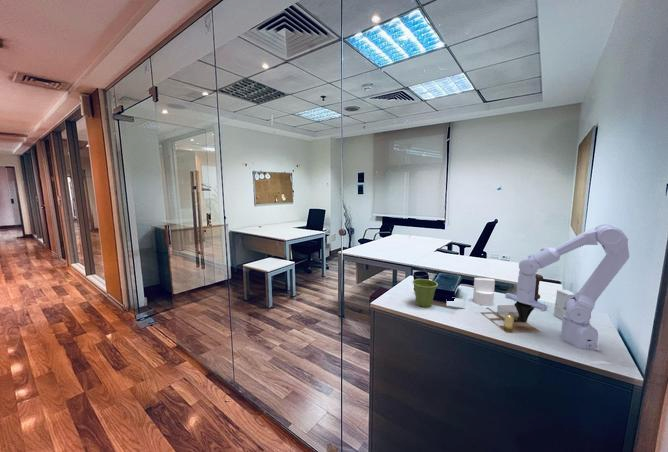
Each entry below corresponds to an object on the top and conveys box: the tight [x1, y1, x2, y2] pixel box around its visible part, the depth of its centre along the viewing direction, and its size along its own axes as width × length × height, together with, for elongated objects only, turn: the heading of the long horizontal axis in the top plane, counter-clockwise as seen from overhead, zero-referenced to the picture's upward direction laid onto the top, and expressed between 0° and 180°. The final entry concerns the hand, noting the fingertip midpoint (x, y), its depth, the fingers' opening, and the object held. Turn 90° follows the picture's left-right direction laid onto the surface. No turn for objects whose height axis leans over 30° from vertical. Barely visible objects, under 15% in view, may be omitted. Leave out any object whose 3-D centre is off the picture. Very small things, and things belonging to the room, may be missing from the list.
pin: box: [503, 314, 514, 332], centre depth 105 cm, size 3×3×6 cm
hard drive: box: [445, 297, 466, 310], centre depth 133 cm, size 2×8×12 cm
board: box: [480, 307, 542, 334], centre depth 115 cm, size 23×15×3 cm, turn 2°
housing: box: [496, 304, 519, 319], centre depth 115 cm, size 7×8×4 cm
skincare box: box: [553, 289, 576, 321], centre depth 117 cm, size 6×4×12 cm
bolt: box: [534, 273, 544, 302], centre depth 131 cm, size 6×5×15 cm
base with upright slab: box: [472, 277, 496, 307], centre depth 135 cm, size 9×9×12 cm
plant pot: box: [412, 278, 439, 308], centre depth 132 cm, size 12×12×11 cm
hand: (523, 321), depth 107 cm, fingers closed
